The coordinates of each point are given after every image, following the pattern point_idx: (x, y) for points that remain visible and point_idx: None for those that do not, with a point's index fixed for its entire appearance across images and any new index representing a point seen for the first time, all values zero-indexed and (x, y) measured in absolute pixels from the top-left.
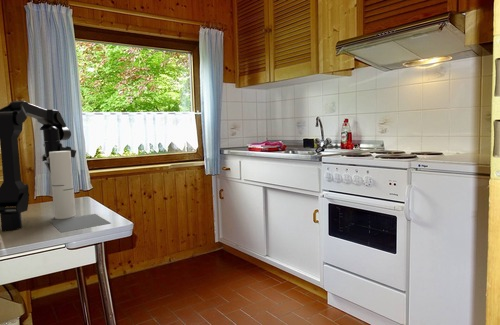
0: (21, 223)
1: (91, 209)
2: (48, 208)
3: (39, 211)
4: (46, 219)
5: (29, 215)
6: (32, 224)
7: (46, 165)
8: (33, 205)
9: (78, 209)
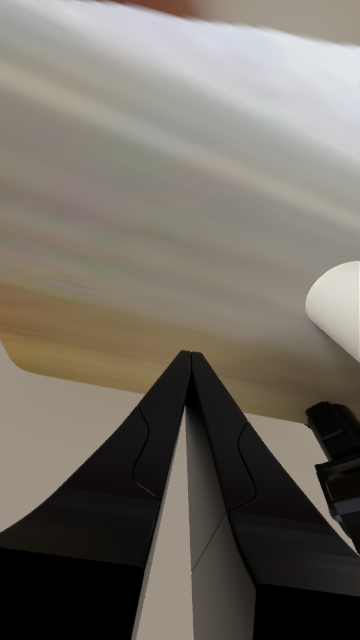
0: (354, 416)
1: (339, 150)
2: (121, 289)
3: (157, 325)
4: (318, 348)
5: None
6: (339, 385)
7: (121, 628)
8: (11, 306)
9: (264, 205)
